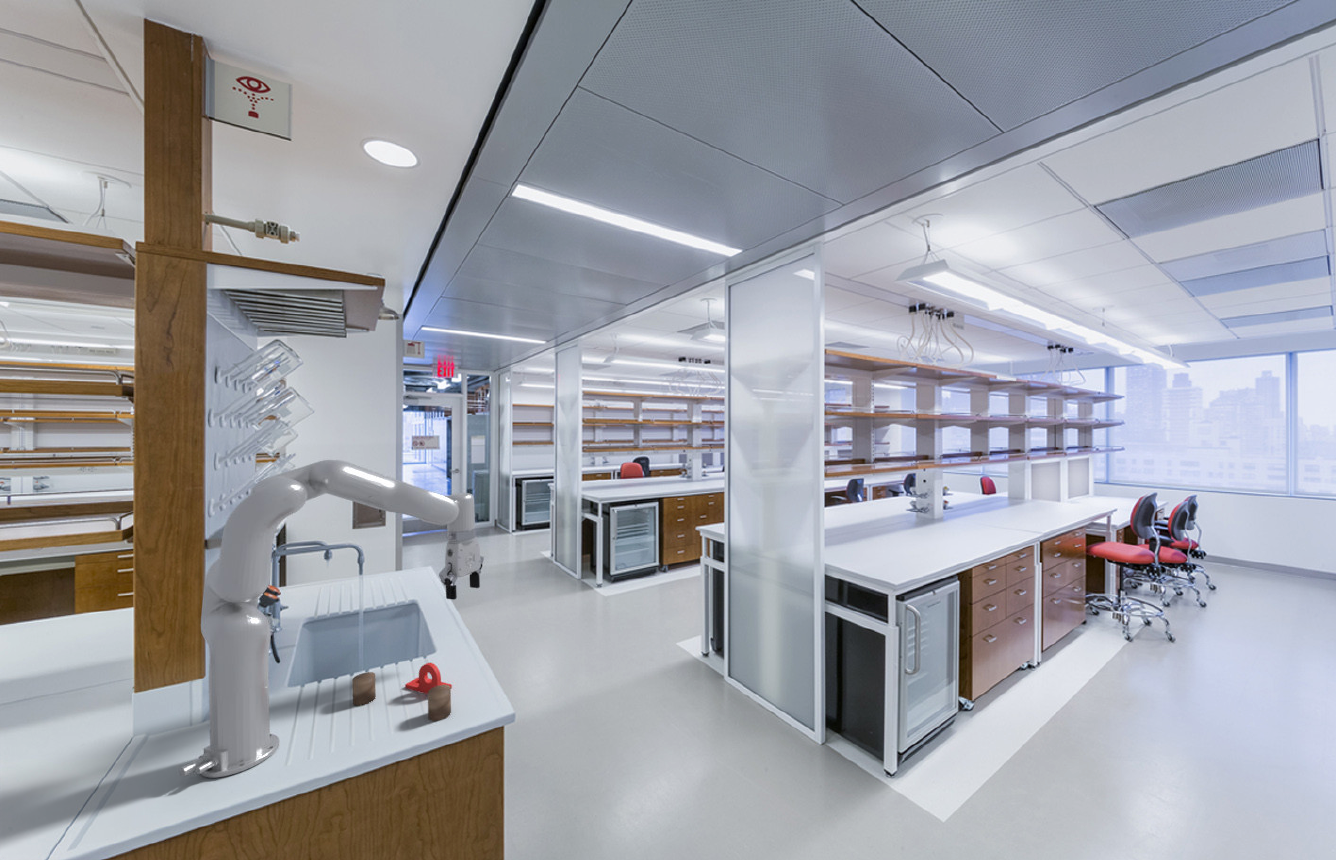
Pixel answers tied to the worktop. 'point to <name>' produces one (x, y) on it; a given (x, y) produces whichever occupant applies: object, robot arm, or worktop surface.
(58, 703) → the worktop surface
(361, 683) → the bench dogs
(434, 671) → the bracket
